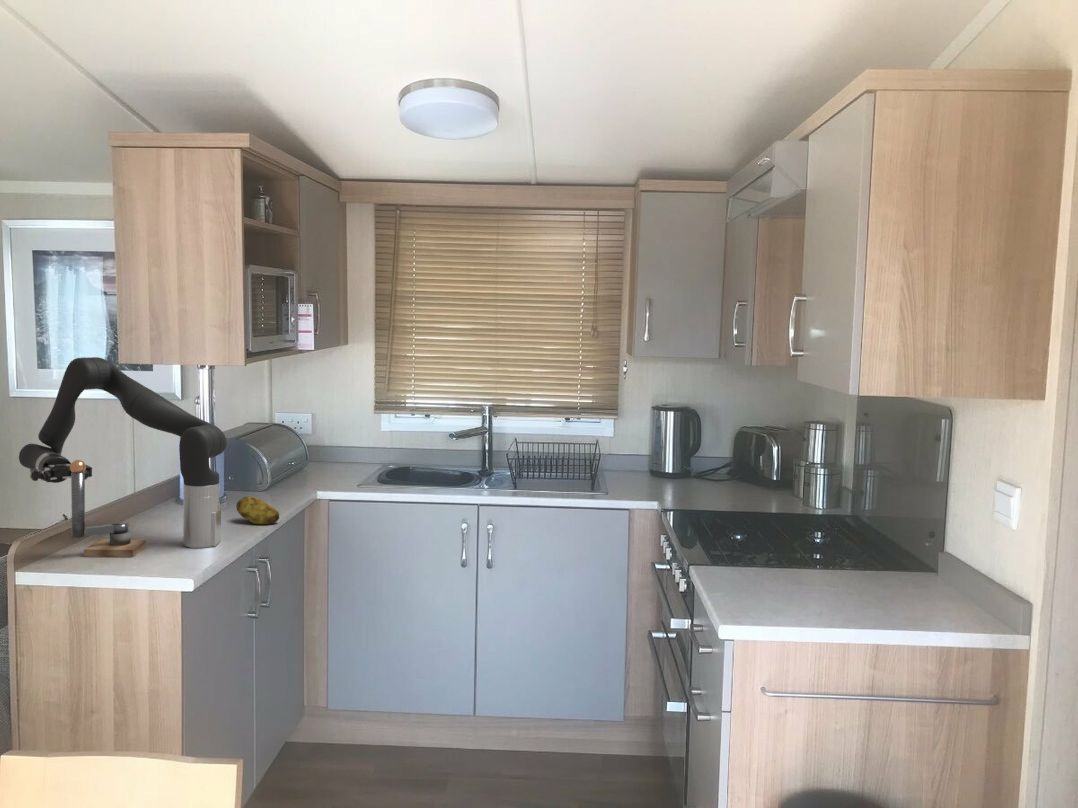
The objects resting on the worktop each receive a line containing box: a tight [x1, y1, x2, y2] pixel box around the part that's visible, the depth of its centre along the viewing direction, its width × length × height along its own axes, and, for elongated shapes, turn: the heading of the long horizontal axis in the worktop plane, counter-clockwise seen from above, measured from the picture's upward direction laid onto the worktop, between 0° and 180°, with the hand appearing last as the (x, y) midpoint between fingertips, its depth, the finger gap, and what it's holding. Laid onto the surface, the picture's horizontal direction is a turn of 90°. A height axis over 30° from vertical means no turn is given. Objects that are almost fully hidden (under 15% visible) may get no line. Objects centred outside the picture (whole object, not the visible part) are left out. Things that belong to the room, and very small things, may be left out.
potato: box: [236, 496, 280, 525], centre depth 255 cm, size 8×13×8 cm, turn 65°
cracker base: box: [83, 530, 147, 558], centre depth 218 cm, size 12×10×5 cm
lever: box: [70, 459, 130, 539], centre depth 215 cm, size 14×4×20 cm, turn 132°
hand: (67, 477), depth 219 cm, fingers open, 8 cm apart
